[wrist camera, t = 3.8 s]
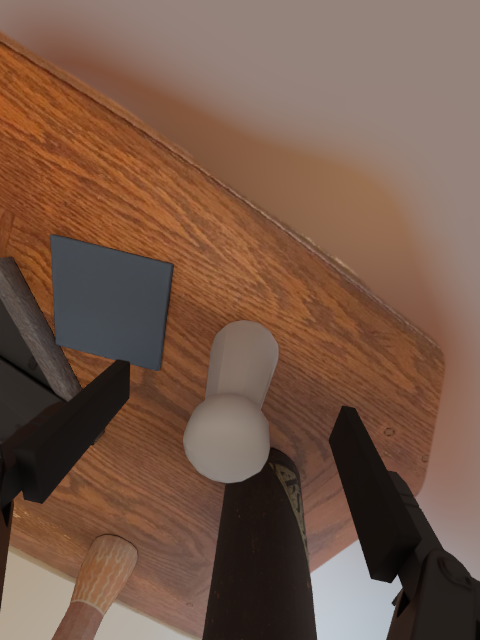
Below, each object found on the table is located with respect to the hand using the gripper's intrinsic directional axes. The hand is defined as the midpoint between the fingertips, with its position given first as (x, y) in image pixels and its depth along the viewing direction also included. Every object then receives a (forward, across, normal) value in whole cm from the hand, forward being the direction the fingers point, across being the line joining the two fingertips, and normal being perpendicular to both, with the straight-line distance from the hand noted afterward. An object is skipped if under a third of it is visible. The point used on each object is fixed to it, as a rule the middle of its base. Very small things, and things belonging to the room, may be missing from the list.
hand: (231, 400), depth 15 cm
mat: (+9, -13, +1) cm, 16 cm away
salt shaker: (+9, 0, 0) cm, 9 cm away
